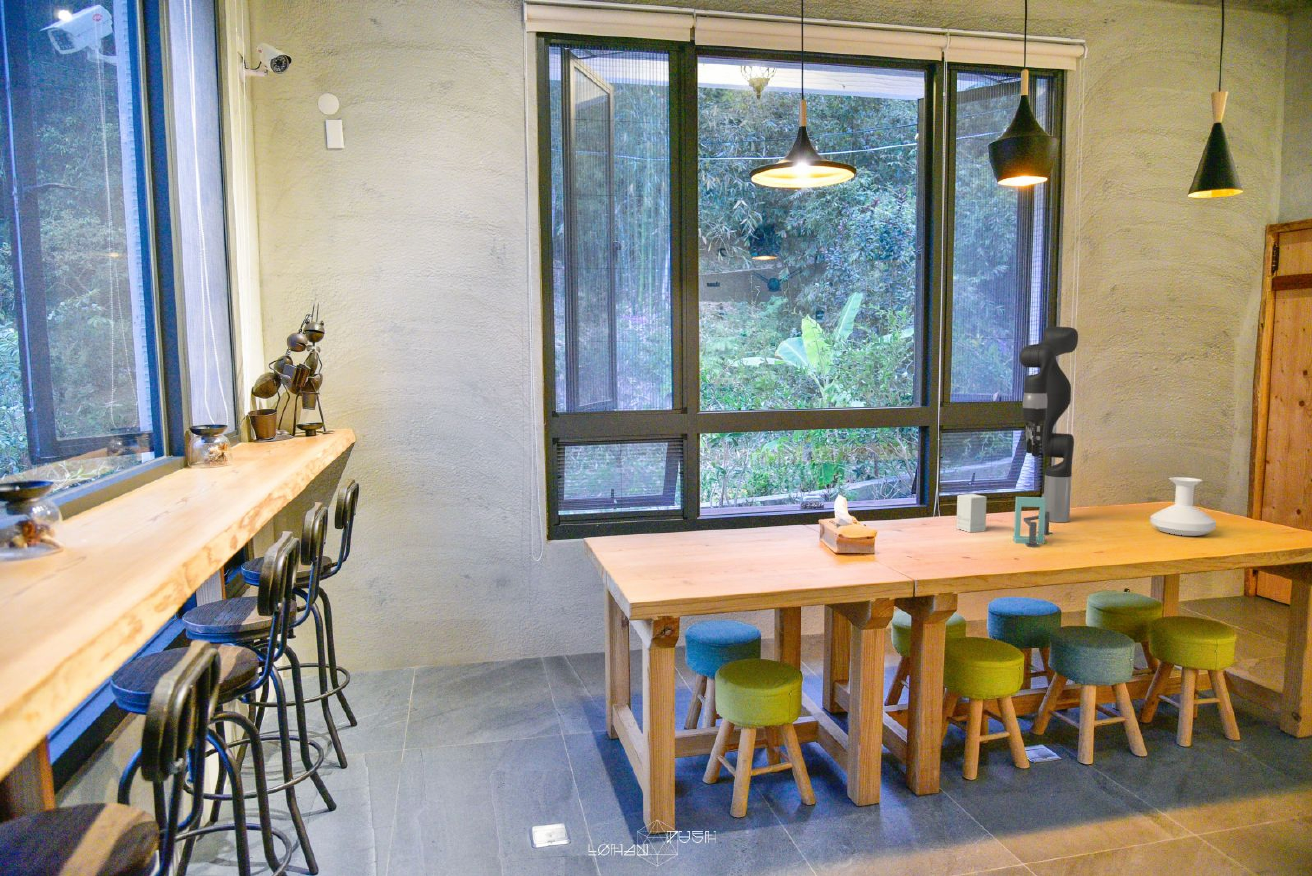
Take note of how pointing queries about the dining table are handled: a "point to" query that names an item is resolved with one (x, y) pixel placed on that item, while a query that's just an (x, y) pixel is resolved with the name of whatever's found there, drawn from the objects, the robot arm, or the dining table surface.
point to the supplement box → (971, 513)
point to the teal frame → (1041, 504)
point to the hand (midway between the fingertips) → (1032, 454)
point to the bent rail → (1033, 529)
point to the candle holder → (1183, 512)
